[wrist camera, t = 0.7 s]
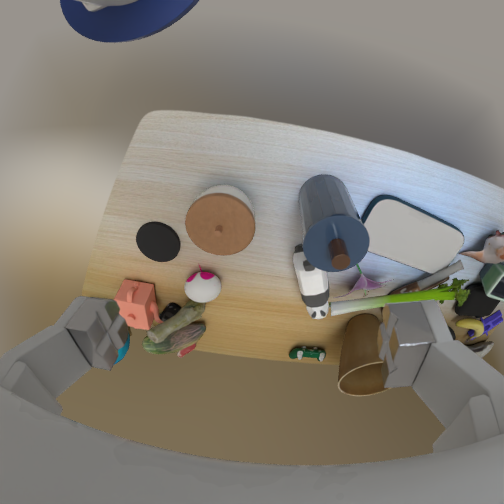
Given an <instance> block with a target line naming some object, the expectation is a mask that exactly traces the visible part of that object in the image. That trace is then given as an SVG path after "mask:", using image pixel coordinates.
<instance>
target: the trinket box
mask: <svg viewBox="0 0 504 504" xmlns="http://www.w3.org/2000/svg"><path fill="white" fill-rule="evenodd" d="M185 225H186V230H187V233H188V235H189V237H190V239H191V240H192V241H193V242H194V243H195V245H197V246H198V247H199V248H201V249H202V250H204V251H206V252H208V253H211V254H215V255H231V254H235V253H238V252H240V251H242V250H243V249H245V248H246V247H247V246H248V245H249V244H250V242H251V241H252V239H253V237H254V233H255V213H254V208H253V205H252V203H251V201H250V199H249V198H248V197H247V195H246V194H245V193H244V192H242V191H241V190H240V189H238V188H236V187H233V186H230V185H216V186H213V187H210V188H208V189H206V190H205V191H203V192H202V193H201V194H200V195H199V196H198V197H197V198H196V199H195V201H194V202H193V204H192V205H191V207H190V208H189V210H188V212H187V215H186V220H185Z"/></svg>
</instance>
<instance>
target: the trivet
mask: <svg viewBox="0 0 504 504" xmlns="http://www.w3.org/2000/svg"><path fill="white" fill-rule="evenodd" d="M136 242H137V245H138V247H139V249H140V251H141V252H142V253H143V254H144V255H145V256H147V257H148V258H150V259H152V260H154V261H158V262H167V261H170V260H172V259H174V258H175V257H176V256H177V254H178V252H179V250H180V240H179V237H178V235H177V234H176V232H175V231H174V230H173V229H172V228H171V227H169V226H168V225H166V224H163V223H160V222H149V223H146V224H144V225H143V226H142V227H141V228H140V229H139V231H138V233H137V236H136Z"/></svg>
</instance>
